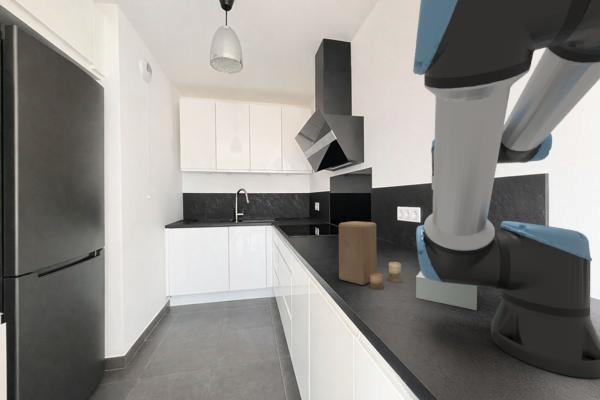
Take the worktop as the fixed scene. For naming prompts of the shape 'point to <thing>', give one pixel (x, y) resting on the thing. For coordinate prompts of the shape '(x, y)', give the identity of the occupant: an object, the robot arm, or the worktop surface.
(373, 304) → the worktop surface
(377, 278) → the dowel short
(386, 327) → the worktop surface
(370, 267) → the wooden block
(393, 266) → the dowel mid
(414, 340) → the worktop surface
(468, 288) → the socket block
